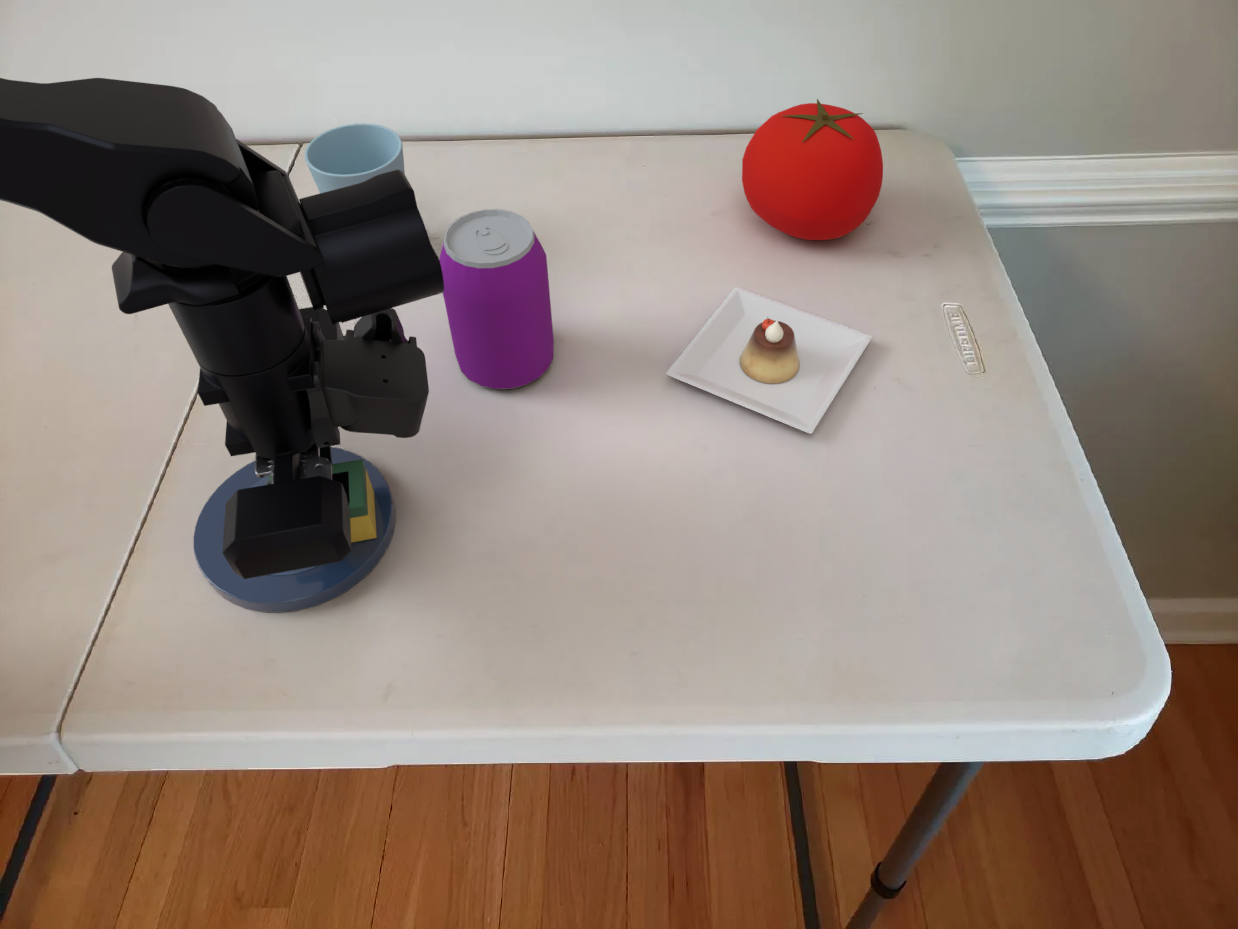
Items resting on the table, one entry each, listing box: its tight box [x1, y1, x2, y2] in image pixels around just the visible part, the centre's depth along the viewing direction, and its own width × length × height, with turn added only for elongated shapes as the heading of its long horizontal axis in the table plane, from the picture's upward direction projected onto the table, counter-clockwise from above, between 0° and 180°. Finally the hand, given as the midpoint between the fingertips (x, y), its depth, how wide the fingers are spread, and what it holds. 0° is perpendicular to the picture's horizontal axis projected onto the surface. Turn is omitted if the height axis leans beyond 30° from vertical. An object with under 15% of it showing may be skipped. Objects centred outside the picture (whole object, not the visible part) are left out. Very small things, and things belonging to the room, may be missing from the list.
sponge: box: [268, 459, 377, 543], centre depth 60 cm, size 6×4×4 cm, turn 102°
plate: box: [193, 446, 396, 613], centre depth 62 cm, size 13×13×1 cm
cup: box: [304, 122, 406, 194], centre depth 77 cm, size 8×8×10 cm
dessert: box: [665, 286, 873, 434], centre depth 70 cm, size 12×12×5 cm
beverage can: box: [438, 208, 555, 390], centre depth 68 cm, size 8×8×12 cm
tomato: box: [741, 98, 884, 241], centre depth 80 cm, size 12×12×10 cm
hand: (326, 515), depth 60 cm, fingers closed on sponge, 4 cm apart
